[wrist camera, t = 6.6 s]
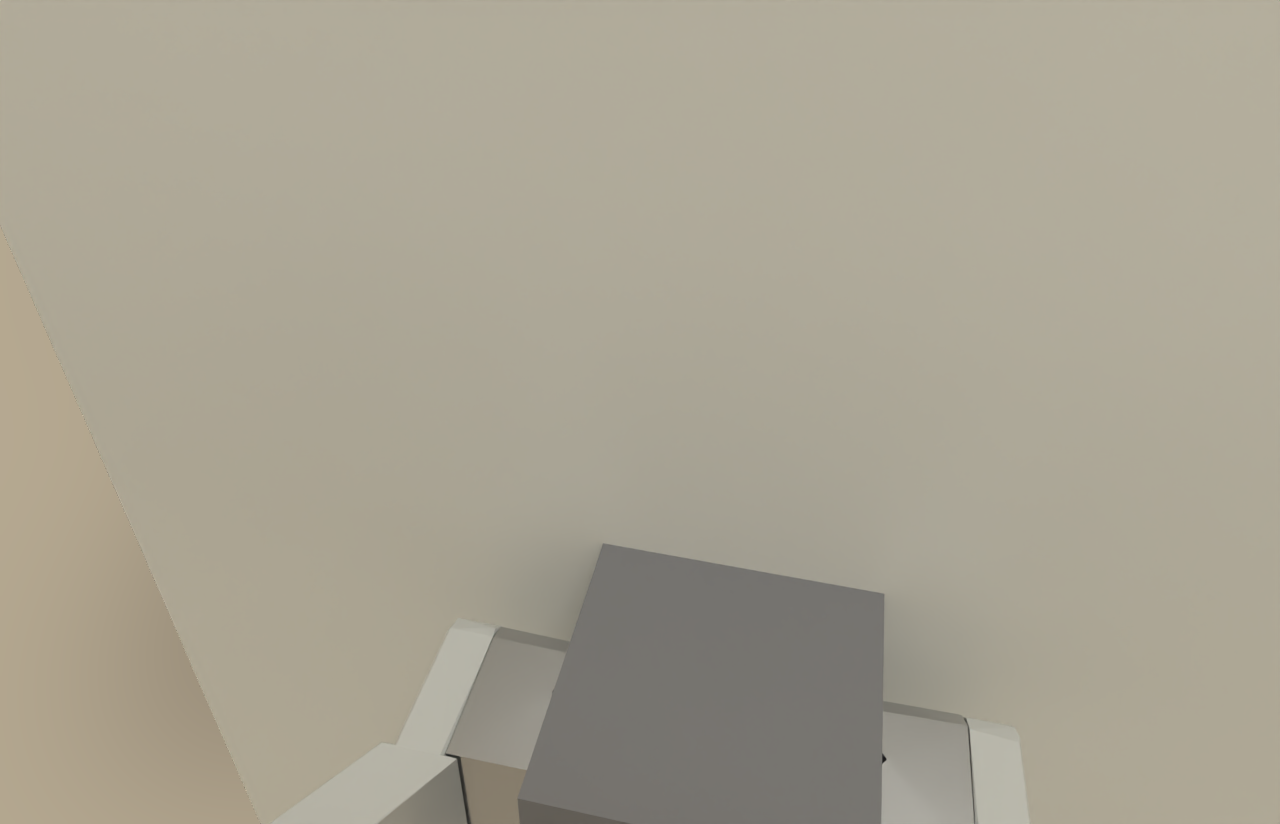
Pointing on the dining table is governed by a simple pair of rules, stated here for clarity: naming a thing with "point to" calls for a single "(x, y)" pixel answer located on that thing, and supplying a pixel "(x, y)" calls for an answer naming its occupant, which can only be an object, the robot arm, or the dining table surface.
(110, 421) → the cover
